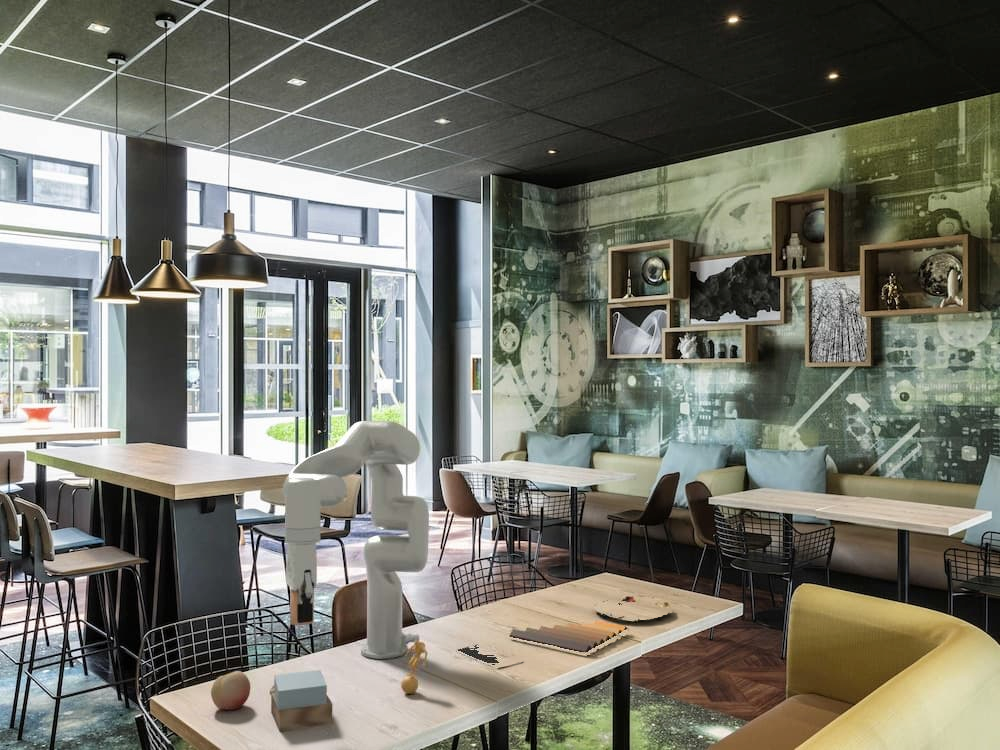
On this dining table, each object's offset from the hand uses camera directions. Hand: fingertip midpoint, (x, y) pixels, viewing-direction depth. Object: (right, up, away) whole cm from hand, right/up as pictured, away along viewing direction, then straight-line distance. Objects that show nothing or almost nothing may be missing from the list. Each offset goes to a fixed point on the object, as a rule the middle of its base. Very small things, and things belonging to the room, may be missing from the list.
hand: (302, 617), depth 173 cm
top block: (0, -17, -1) cm, 17 cm away
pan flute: (+63, -24, +56) cm, 88 cm away
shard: (-9, -23, +16) cm, 29 cm away
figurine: (+23, -22, +14) cm, 35 cm away
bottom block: (0, -22, -1) cm, 22 cm away
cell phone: (+40, -23, +39) cm, 61 cm away
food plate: (+86, -24, +81) cm, 120 cm away
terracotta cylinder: (0, -1, 0) cm, 1 cm away
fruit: (-17, -22, +4) cm, 28 cm away
